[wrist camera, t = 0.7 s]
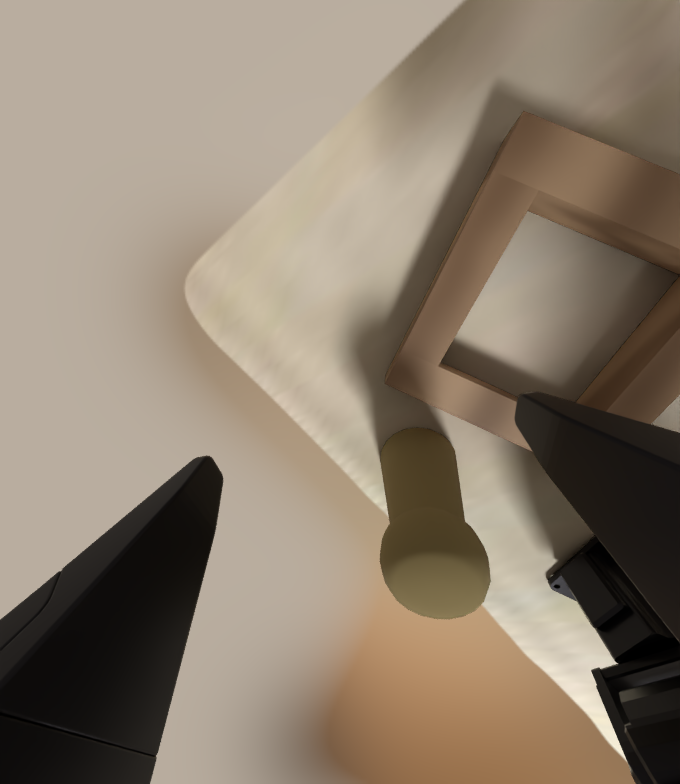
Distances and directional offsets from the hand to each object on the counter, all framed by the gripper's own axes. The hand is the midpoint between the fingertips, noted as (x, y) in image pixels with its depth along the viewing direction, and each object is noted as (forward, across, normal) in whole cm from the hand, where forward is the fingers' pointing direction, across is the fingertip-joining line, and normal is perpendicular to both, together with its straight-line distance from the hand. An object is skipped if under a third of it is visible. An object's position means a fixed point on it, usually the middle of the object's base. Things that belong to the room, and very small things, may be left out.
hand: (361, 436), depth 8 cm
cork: (+10, -4, +12) cm, 16 cm away
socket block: (+11, -13, +2) cm, 17 cm away
